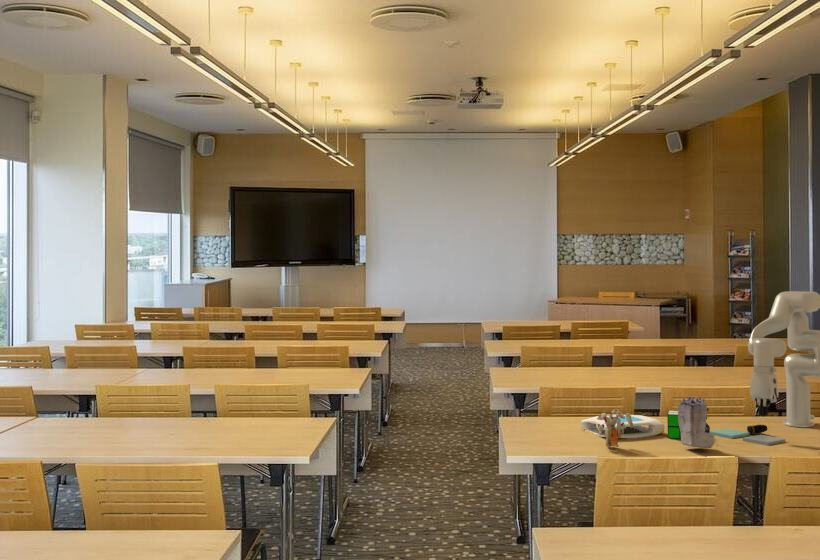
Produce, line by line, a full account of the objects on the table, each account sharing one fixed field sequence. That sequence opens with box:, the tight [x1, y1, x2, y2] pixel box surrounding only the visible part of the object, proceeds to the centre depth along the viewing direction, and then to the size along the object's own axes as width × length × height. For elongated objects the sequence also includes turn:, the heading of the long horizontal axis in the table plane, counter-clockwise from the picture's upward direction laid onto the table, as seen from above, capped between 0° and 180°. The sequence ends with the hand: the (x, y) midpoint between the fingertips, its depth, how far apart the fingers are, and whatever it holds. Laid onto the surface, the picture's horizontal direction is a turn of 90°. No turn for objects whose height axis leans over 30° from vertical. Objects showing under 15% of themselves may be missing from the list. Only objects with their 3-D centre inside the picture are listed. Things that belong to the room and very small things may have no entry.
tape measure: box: [746, 424, 768, 436], centre depth 338 cm, size 7×7×4 cm
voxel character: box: [597, 408, 633, 448], centre depth 314 cm, size 11×10×15 cm
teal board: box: [709, 428, 751, 440], centre depth 339 cm, size 12×11×1 cm
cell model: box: [677, 396, 715, 449], centre depth 313 cm, size 13×11×20 cm
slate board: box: [742, 434, 786, 446], centre depth 325 cm, size 12×11×1 cm
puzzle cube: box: [667, 410, 681, 440], centre depth 335 cm, size 10×10×10 cm
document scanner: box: [580, 414, 665, 439], centre depth 344 cm, size 21×28×6 cm
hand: (763, 415), depth 325 cm, fingers closed
